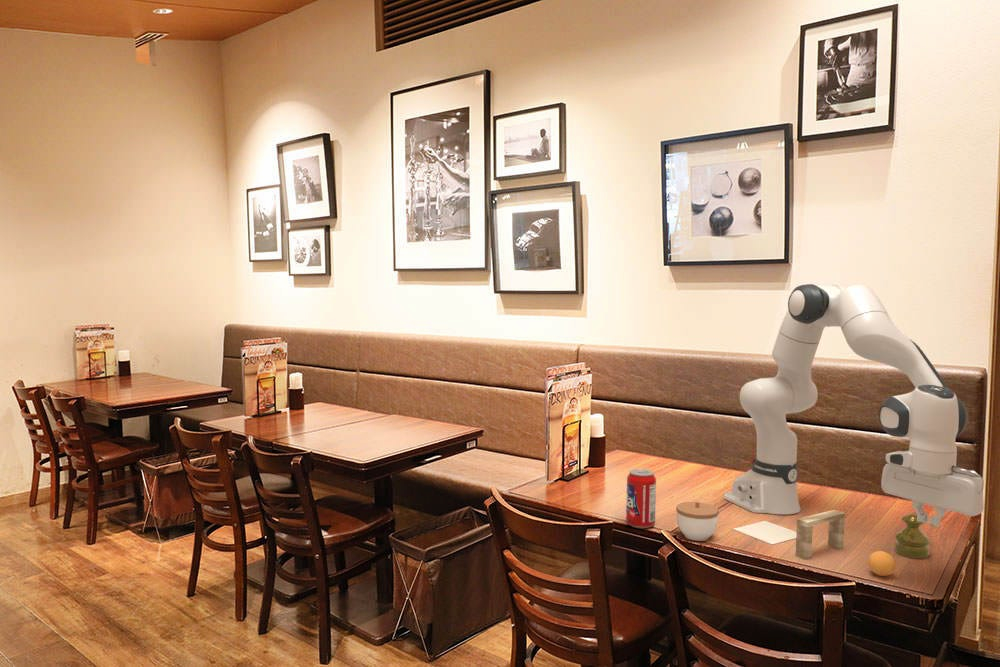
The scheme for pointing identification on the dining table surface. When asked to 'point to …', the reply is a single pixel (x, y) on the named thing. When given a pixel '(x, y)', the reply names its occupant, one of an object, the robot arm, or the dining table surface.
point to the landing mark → (767, 532)
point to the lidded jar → (697, 520)
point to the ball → (881, 563)
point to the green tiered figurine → (912, 539)
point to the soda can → (641, 498)
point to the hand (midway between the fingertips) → (928, 524)
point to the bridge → (806, 531)
